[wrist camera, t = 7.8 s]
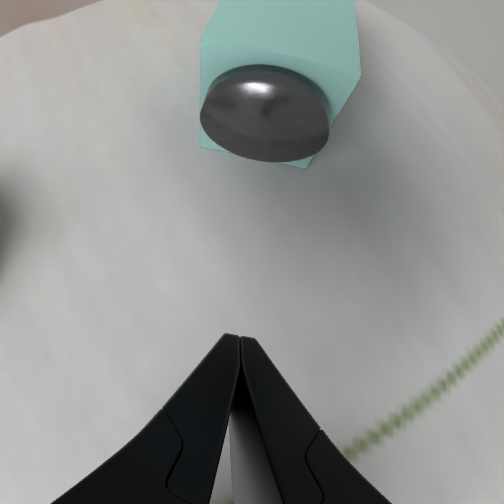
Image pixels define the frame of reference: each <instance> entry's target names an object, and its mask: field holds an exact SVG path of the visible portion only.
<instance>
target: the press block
mask: <svg viewBox="0 0 504 504" xmlns="http://www.w3.org/2000/svg"><path fill="white" fill-rule="evenodd" d="M253 64H264V65H273V66H279V67H283V68H286V69H289V70H292V71H294V72H297V73H299V74H301V75H303V76H305V77H306V78H308V79H309V80H311V81H312V82H313V83H314V84H315V85H317V86H318V87H319V88H320V90H321V91H322V92H323V93H324V95H325V97H326V98H327V101H328V103H329V108H330V120H329V129H330V127H331V126H332V124H333V122H334V121H335V119H336V117H337V116H338V114H339V112H340V111H341V109H342V107H343V106H344V104H345V102H346V101H347V99H348V97H349V96H350V94H351V93H352V91H353V89H354V88H355V86H356V84H357V83H358V81H359V79H360V78H361V67H360V54H359V42H358V32H357V22H356V14H355V6H354V0H220V2H219V4H218V6H217V8H216V9H215V11H214V13H213V15H212V17H211V19H210V21H209V23H208V25H207V27H206V30H205V32H204V34H203V36H202V38H201V49H200V112H201V109H202V106H203V103H204V100H205V97H206V94H207V91H208V88H209V86H210V85H211V83H212V82H213V81H214V80H215V79H216V78H217V77H218V76H219V75H221V74H222V73H224V72H226V71H228V70H230V69H233V68H236V67H240V66H244V65H253ZM200 147H203V148H208V149H214V150H219V151H225V152H230V151H227V150H226V149H224V148H222V147H221V146H219V145H218V144H216V143H215V142H214V141H213V140H211V139H210V138H209V137H208V135H207V134H206V133H205V131H204V130H203V128H202V125H201V122H200ZM230 153H232V152H230ZM312 157H313V155H312V156H310V157H308V158H305V159H301V160H297V161H292V162H278V163H282V164H286V165H291V166H295V167H299V168H303V169H306V167H307V165H308V164H309V162H310V160H311V159H312Z"/></svg>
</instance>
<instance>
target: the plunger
mask: <svg viewBox="0 0 504 504" xmlns="http://www.w3.org/2000/svg"><path fill="white" fill-rule="evenodd" d="M329 120H330V108H329V103H328V101H327V98H326V97H325V95H324V93H323V92H322V91H321V90H320V88H319V87H318V86H317V85H315V84H314V83H313V82H312V81H311V80H309V79H308V78H306V77H305V76H303V75H301V74H299V73H297V72H294V71H292V70H289V69H286V68H283V67H279V66H273V65H264V64H253V65H244V66H240V67H236V68H233V69H230V70H228V71H226V72H224V73H222V74H221V75H219V76H218V77H217V78H216V79H215V80H214V81H213V82H212V83H211V85H210V86H209V88H208V91H207V94H206V97H205V100H204V103H203V106H202V109H201V112H200V122H201V125H202V128H203V130H204V131H205V133H206V134H207V135H208V137H209V138H210V139H211V140H213V141H214V142H215V143H216V144H218V145H219V146H221V147H222V148H224V149H226V150H227V151H230V152H232V153H234V154H236V155H239V156H242V157H245V158H249V159H253V160H258V161H264V162H292V161H297V160H301V159H305V158H308V157H310V156H312V155H314V154H316V153H317V152H319V151H320V150H321V149H322V148H323V147H324V145H325V144H326V142H327V140H328V136H329Z"/></svg>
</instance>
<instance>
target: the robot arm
mask: <svg viewBox="0 0 504 504" xmlns="http://www.w3.org/2000/svg"><path fill="white" fill-rule="evenodd" d="M228 421H229V435H230V454H231V472H232V489H233V504H392V503H391V502H389V501H388V500H387V499H386V498H385V497H384V496H383V495H382V494H381V493H380V492H379V491H378V490H377V489H376V488H375V487H374V486H373V485H372V484H370V483H369V482H368V481H367V480H366V479H365V478H364V477H363V476H362V475H361V474H360V473H359V472H358V471H357V470H356V469H355V468H354V466H353V465H352V464H351V463H350V462H349V461H348V460H347V459H346V458H345V457H344V456H343V455H342V453H341V452H340V451H339V450H338V449H337V447H336V446H335V445H334V444H333V443H332V441H331V440H330V439H329V437H328V436H327V435H326V434H325V432H324V431H323V430H320V426H319V425H318V424H317V422H316V421H315V420H314V419H313V417H312V416H311V415H310V413H309V412H308V410H307V409H306V408H305V406H304V405H303V404H302V402H301V401H300V400H299V398H298V397H297V396H296V394H295V393H294V392H293V390H292V389H291V387H290V386H289V385H288V383H287V382H286V381H285V379H284V378H283V376H282V375H281V374H280V372H279V371H278V369H277V368H276V367H275V365H274V364H273V362H272V361H271V360H270V358H269V357H268V355H267V354H266V353H265V351H264V350H263V348H262V347H261V346H260V344H259V343H258V341H257V340H256V339H255V338H251V337H245V336H241V337H240V338H239V336H238V335H233V334H228V333H225V334H223V335H222V337H221V338H220V339H219V340H218V342H217V343H216V344H215V345H214V346H213V348H212V349H211V350H210V351H209V352H208V354H207V355H206V356H205V357H204V358H203V360H202V361H201V362H200V363H199V364H198V366H197V367H196V368H195V369H194V370H193V372H192V373H191V374H190V375H189V376H188V378H187V379H186V380H185V381H184V382H183V384H182V385H181V386H180V387H179V388H178V389H177V391H176V392H175V393H174V394H173V395H172V397H171V398H170V399H169V400H168V401H167V402H166V404H165V405H164V406H163V407H162V409H160V410H159V411H158V412H157V414H156V415H155V416H154V417H153V418H152V419H151V420H150V421H149V423H148V424H147V425H146V426H145V427H144V428H143V429H142V430H141V431H140V432H139V433H138V434H137V435H136V436H135V437H134V438H133V439H131V440H130V441H129V442H128V443H127V444H126V445H125V446H124V447H123V448H121V449H120V450H119V451H118V452H116V453H115V454H114V455H113V456H112V457H110V458H109V459H108V460H107V461H105V462H104V463H103V464H102V465H100V466H99V467H98V468H97V469H95V470H94V471H93V472H91V473H90V474H89V475H88V476H86V477H85V478H84V479H83V480H81V481H80V482H79V483H77V484H76V485H75V486H73V487H72V488H71V489H69V490H68V491H67V492H65V493H64V494H63V495H61V496H60V497H59V498H57V499H56V500H55V501H53V502H52V503H51V504H209V502H210V498H211V494H212V490H213V486H214V481H215V477H216V473H217V469H218V464H219V460H220V456H221V452H222V447H223V443H224V439H225V434H226V430H227V426H228Z"/></svg>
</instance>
